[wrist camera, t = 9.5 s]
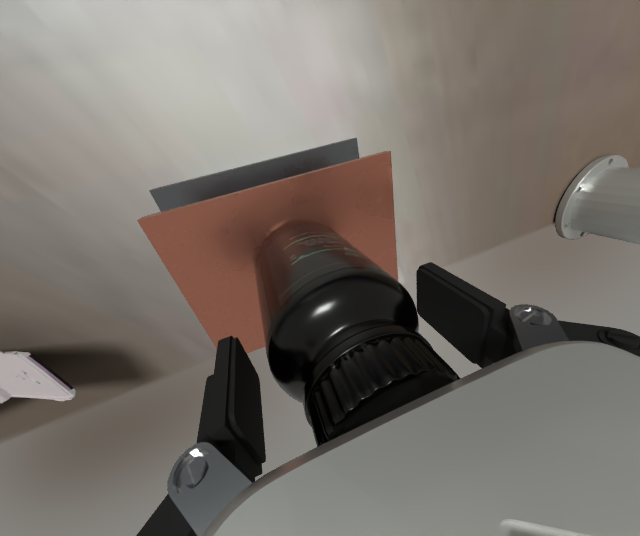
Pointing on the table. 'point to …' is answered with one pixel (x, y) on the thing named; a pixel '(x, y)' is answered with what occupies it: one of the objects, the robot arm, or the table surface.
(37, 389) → the mobile phone
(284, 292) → the supplement bottle
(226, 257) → the stand
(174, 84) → the table surface
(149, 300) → the table surface
